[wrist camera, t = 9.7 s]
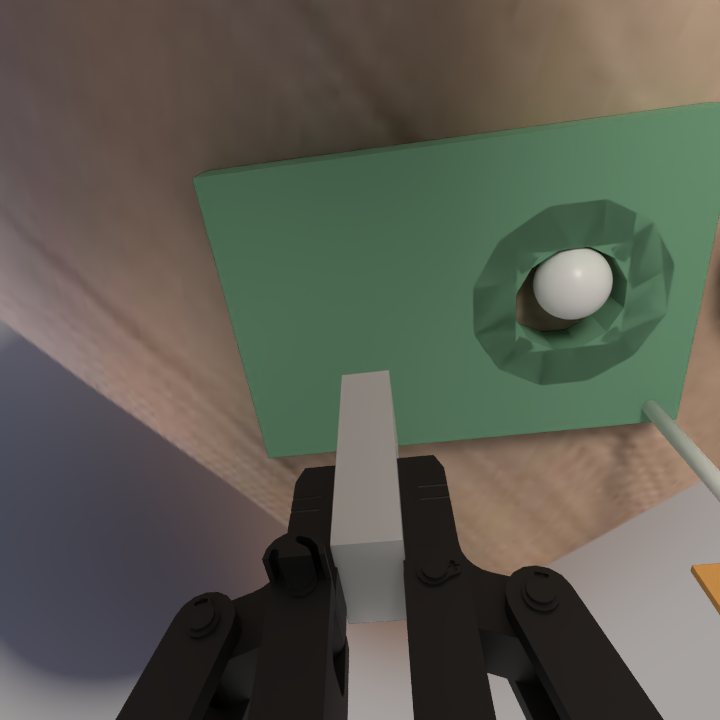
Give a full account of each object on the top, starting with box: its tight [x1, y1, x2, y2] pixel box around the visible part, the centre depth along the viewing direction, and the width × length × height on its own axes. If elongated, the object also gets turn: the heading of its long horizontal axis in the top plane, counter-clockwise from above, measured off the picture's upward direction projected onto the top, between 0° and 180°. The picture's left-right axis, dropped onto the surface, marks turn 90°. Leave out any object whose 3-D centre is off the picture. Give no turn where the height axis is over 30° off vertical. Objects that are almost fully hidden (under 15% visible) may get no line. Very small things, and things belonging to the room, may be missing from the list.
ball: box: [533, 247, 613, 319], centre depth 23 cm, size 3×3×3 cm
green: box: [192, 102, 720, 614], centre depth 19 cm, size 15×22×14 cm
